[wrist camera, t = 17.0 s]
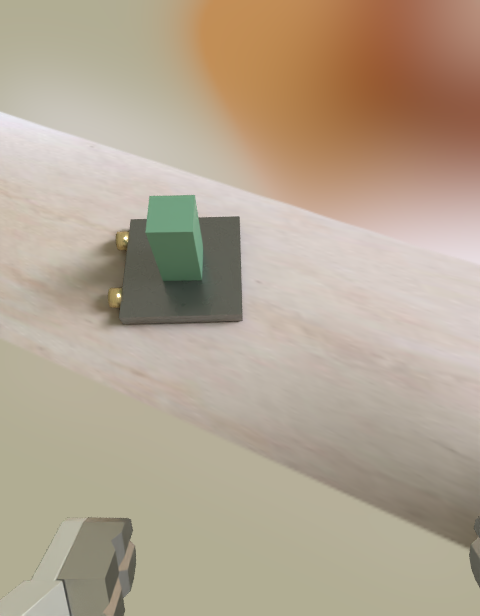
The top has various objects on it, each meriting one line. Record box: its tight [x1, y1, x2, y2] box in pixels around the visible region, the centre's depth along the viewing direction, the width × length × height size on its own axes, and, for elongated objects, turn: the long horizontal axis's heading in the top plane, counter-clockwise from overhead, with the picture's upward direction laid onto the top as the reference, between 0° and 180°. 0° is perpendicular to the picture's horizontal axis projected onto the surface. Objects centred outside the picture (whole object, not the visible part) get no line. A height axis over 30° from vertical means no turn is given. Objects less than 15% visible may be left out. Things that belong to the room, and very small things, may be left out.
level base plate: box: [108, 217, 242, 324], centre depth 44 cm, size 13×13×2 cm
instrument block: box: [145, 195, 203, 281], centre depth 39 cm, size 4×5×8 cm
